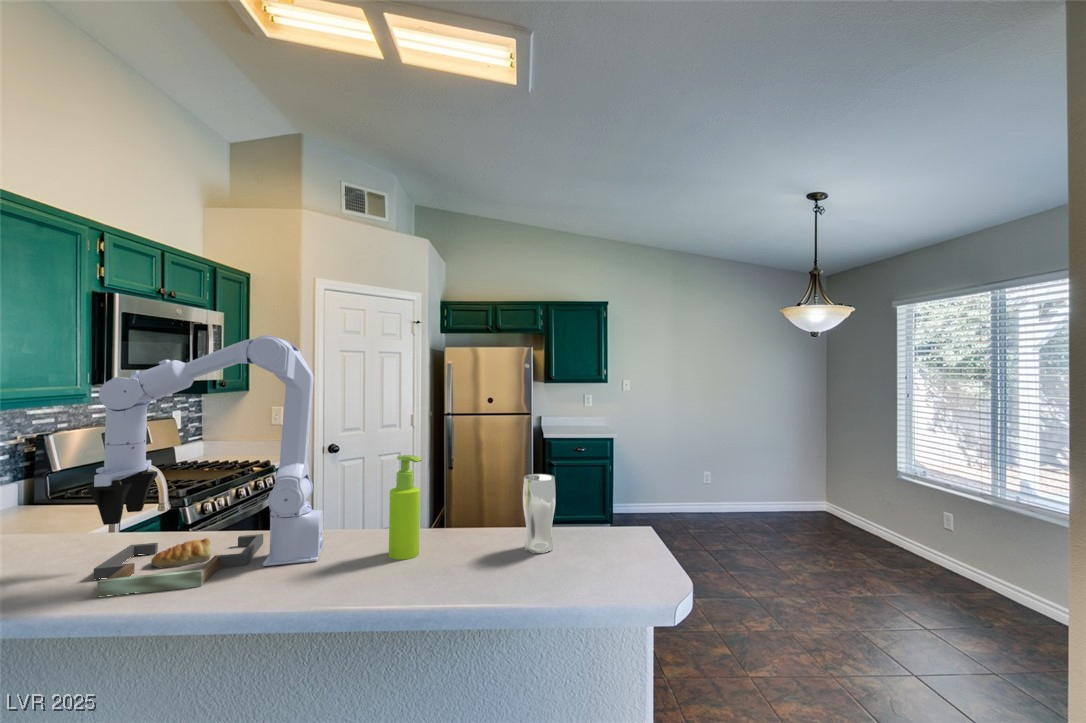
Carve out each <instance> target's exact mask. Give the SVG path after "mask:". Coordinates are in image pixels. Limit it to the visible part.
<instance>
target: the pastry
mask: <svg viewBox="0 0 1086 723" xmlns="http://www.w3.org/2000/svg"><path fill="white" fill-rule="evenodd" d="M210 543H211V538H210V537H205V538H204V539H198V540H197V539H194V540H189V541H188V540H187V541H185V542H183V543H181V544H180V543H179V544H176V545H174V546H172V547H169V548H167V549H165V550H162V551H160V552H158V553H156V554H154V556H153V557H152V558H151V560H150V562H151V563H150V565H151V566H153V567H155V568H159V567H163V568H171V567H172V566H174V567H175V566H177V567H181V566H187V565H193V564H194V563H195V564H200V563H204V562H209V561H210V560H211V559H212V548H211V545H210ZM199 562H200V563H199ZM174 567H173V568H174Z"/></svg>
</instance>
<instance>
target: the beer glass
mask: <svg viewBox="0 0 1086 723" xmlns="http://www.w3.org/2000/svg"><path fill="white" fill-rule="evenodd" d="M555 478H556V477H555V475H553V474H547V473H531V474H526V475H525V476H524V477H523V488H522V507H523V508H522V509H523V515H524V520H525V525H526V526H525V527H526V528H525V530H526V535H525V536H526V537H525V540H524V550H525V549H526V550H528V551H531V552H534V553H533V554H536V553H542V554H545V553H544V552H548V551H550V552H552V551H553V550H554V542H553V537H552V536H553V535H552V534H553V533H552V530H553V529H552V528H553V527H552V526H553V520H554V515H555V509H556V481H555ZM552 549H553V550H552ZM526 550H525V551H526ZM551 550H552V551H551ZM528 551H527V552H528ZM548 553H549V552H548Z"/></svg>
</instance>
